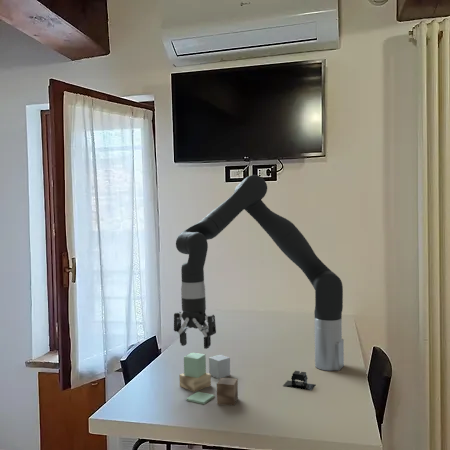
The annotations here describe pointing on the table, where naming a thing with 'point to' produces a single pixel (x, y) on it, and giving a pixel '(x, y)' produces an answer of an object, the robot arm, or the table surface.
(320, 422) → the table surface
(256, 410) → the table surface
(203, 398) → the tile
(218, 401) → the walnut block
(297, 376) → the black piece
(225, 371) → the grey block
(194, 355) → the green block
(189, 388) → the maple base
